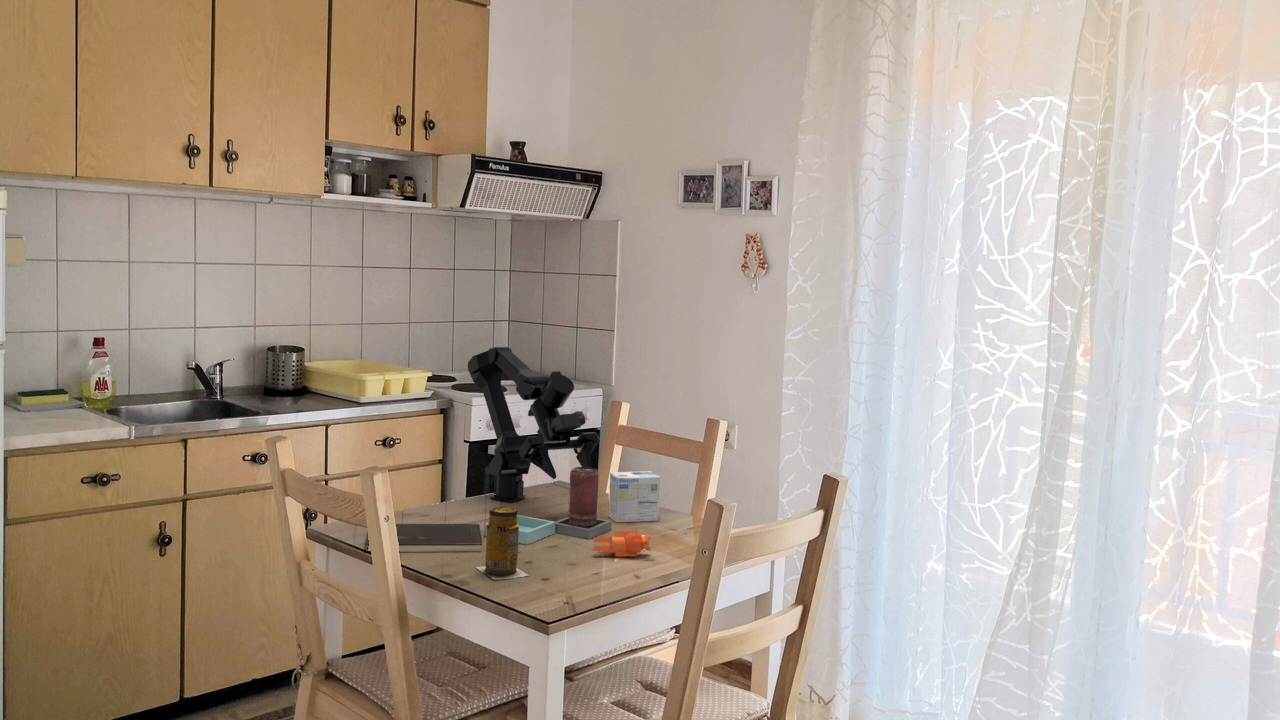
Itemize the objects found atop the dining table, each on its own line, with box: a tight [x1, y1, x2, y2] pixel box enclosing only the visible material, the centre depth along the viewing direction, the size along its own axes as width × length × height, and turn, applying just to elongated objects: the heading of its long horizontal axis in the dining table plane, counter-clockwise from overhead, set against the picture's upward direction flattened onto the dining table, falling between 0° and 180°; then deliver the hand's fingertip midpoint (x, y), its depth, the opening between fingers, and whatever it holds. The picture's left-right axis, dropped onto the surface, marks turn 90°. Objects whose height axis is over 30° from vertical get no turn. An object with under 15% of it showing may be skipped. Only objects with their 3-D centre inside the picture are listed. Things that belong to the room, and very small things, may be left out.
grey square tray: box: [555, 516, 612, 540], centre depth 227 cm, size 10×10×2 cm
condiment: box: [475, 506, 530, 581], centre depth 194 cm, size 7×8×12 cm
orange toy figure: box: [592, 530, 652, 558], centre depth 210 cm, size 5×8×12 cm
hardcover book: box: [364, 523, 483, 553], centre depth 213 cm, size 16×23×2 cm
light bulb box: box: [608, 470, 661, 523], centre depth 240 cm, size 11×7×11 cm, turn 108°
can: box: [568, 466, 600, 529], centre depth 226 cm, size 6×6×14 cm
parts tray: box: [483, 514, 556, 546], centre depth 221 cm, size 11×11×3 cm
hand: (572, 476), depth 230 cm, fingers open, 9 cm apart
